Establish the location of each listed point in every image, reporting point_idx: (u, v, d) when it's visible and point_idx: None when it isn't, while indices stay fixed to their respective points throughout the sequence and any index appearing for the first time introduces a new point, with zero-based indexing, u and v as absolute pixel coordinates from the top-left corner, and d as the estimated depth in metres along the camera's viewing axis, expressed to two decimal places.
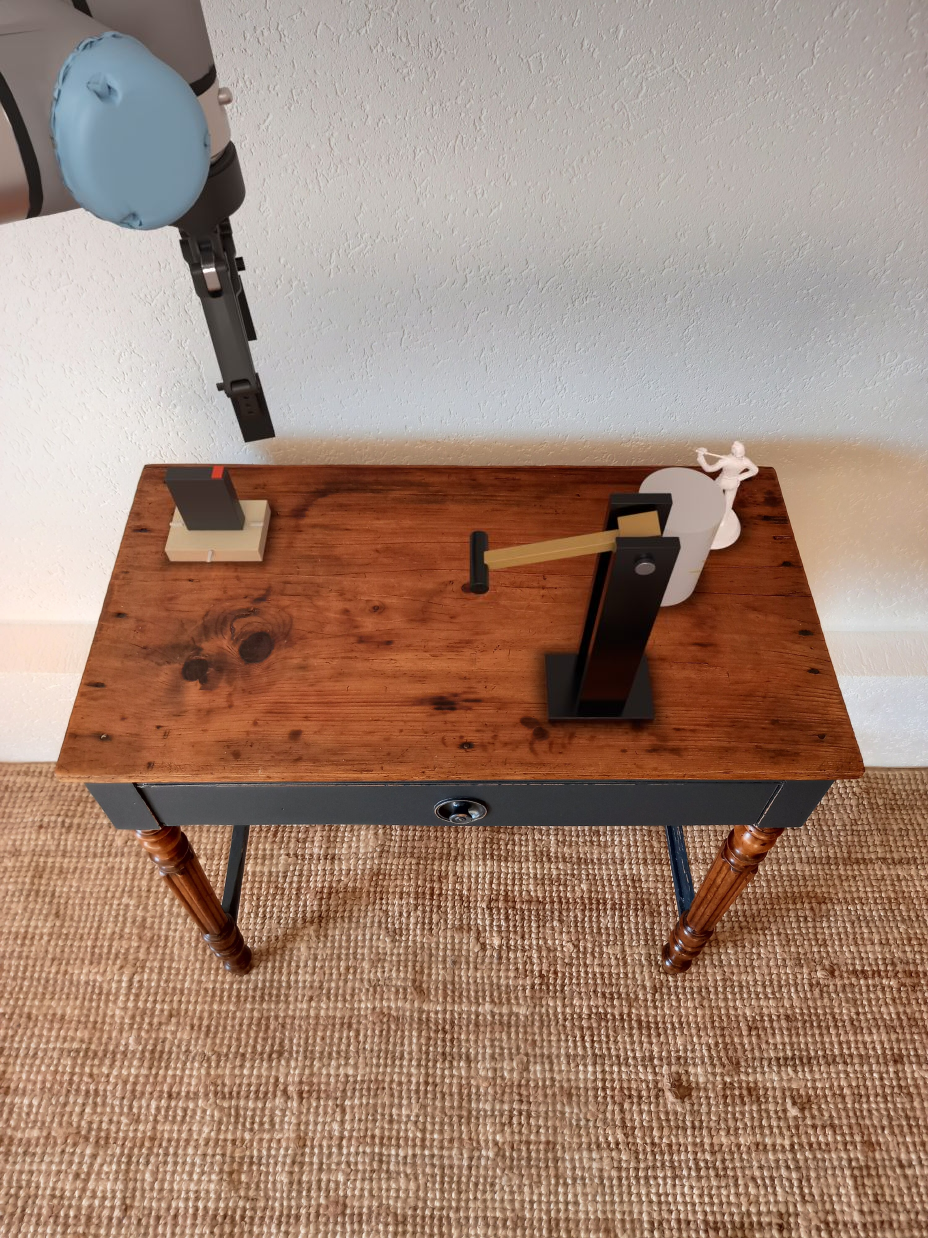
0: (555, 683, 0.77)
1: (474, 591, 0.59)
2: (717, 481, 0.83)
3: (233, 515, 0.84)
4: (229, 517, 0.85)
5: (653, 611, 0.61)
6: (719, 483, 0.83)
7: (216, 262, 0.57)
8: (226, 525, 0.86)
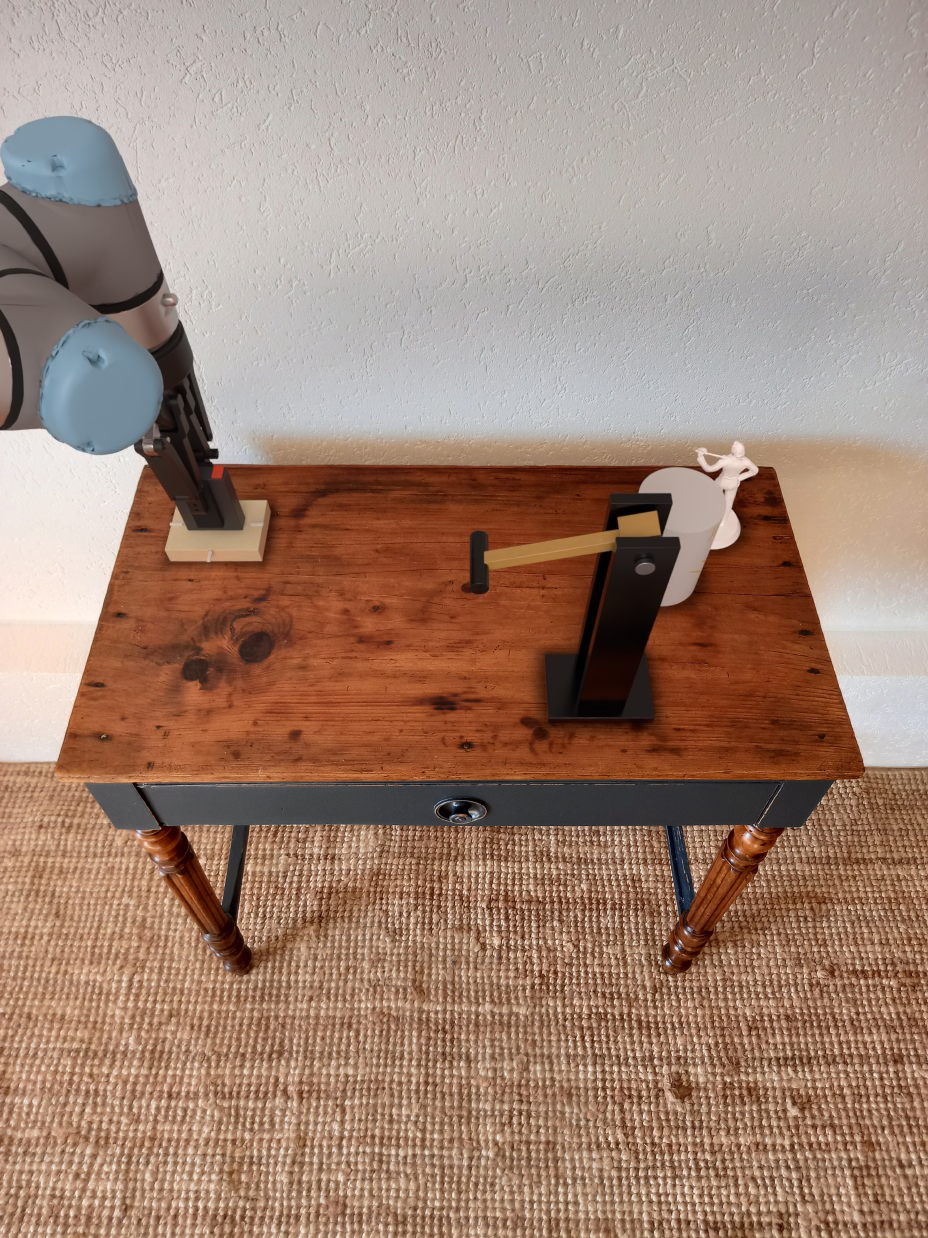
0: (555, 683, 0.77)
1: (474, 591, 0.59)
2: (717, 481, 0.83)
3: (233, 515, 0.84)
4: (229, 517, 0.85)
5: (653, 611, 0.61)
6: (719, 483, 0.83)
7: (154, 446, 0.68)
8: (226, 525, 0.86)
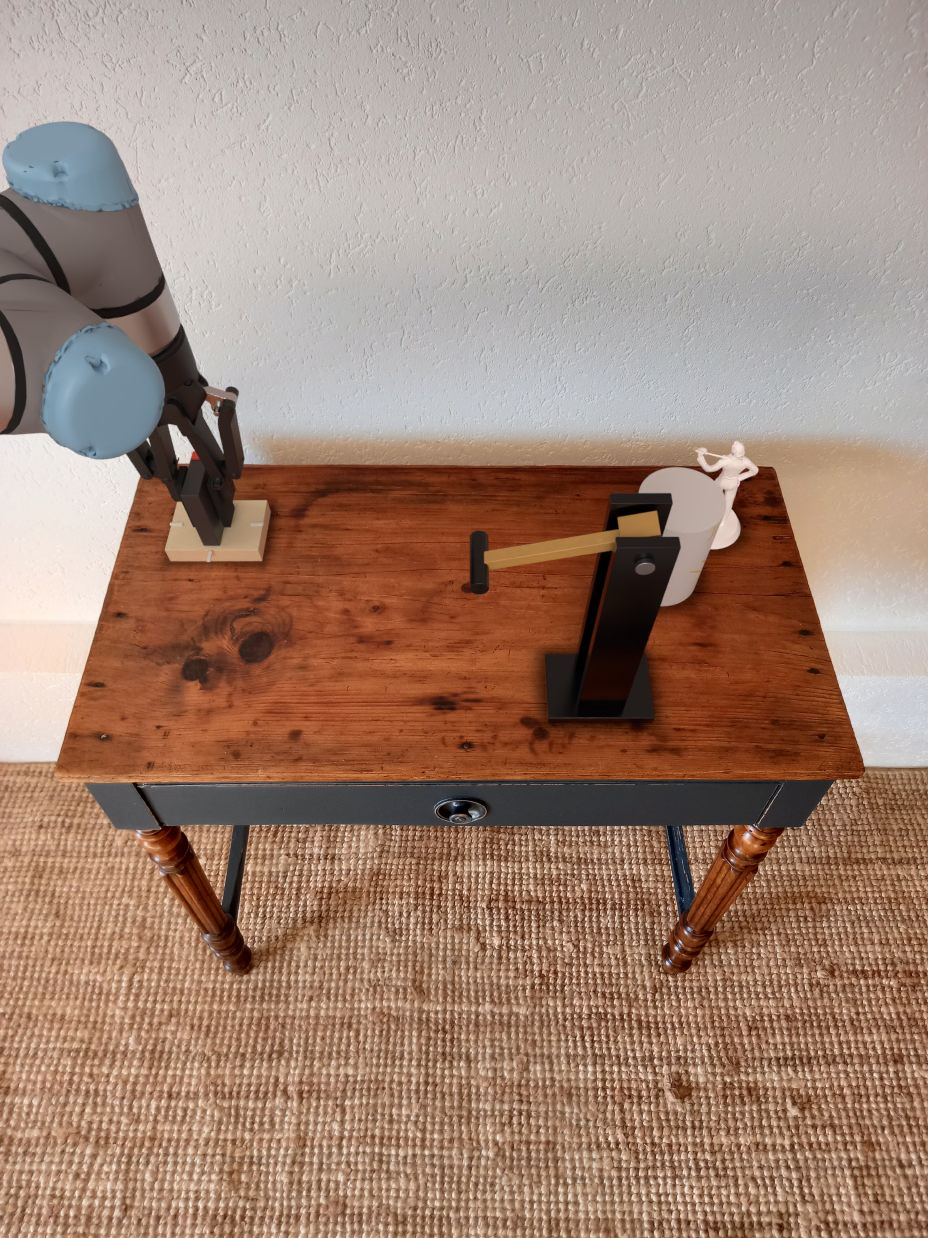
0: (555, 683, 0.77)
1: (474, 591, 0.59)
2: (717, 481, 0.83)
3: None
4: None
5: (653, 611, 0.61)
6: (719, 483, 0.83)
7: (235, 392, 0.72)
8: None
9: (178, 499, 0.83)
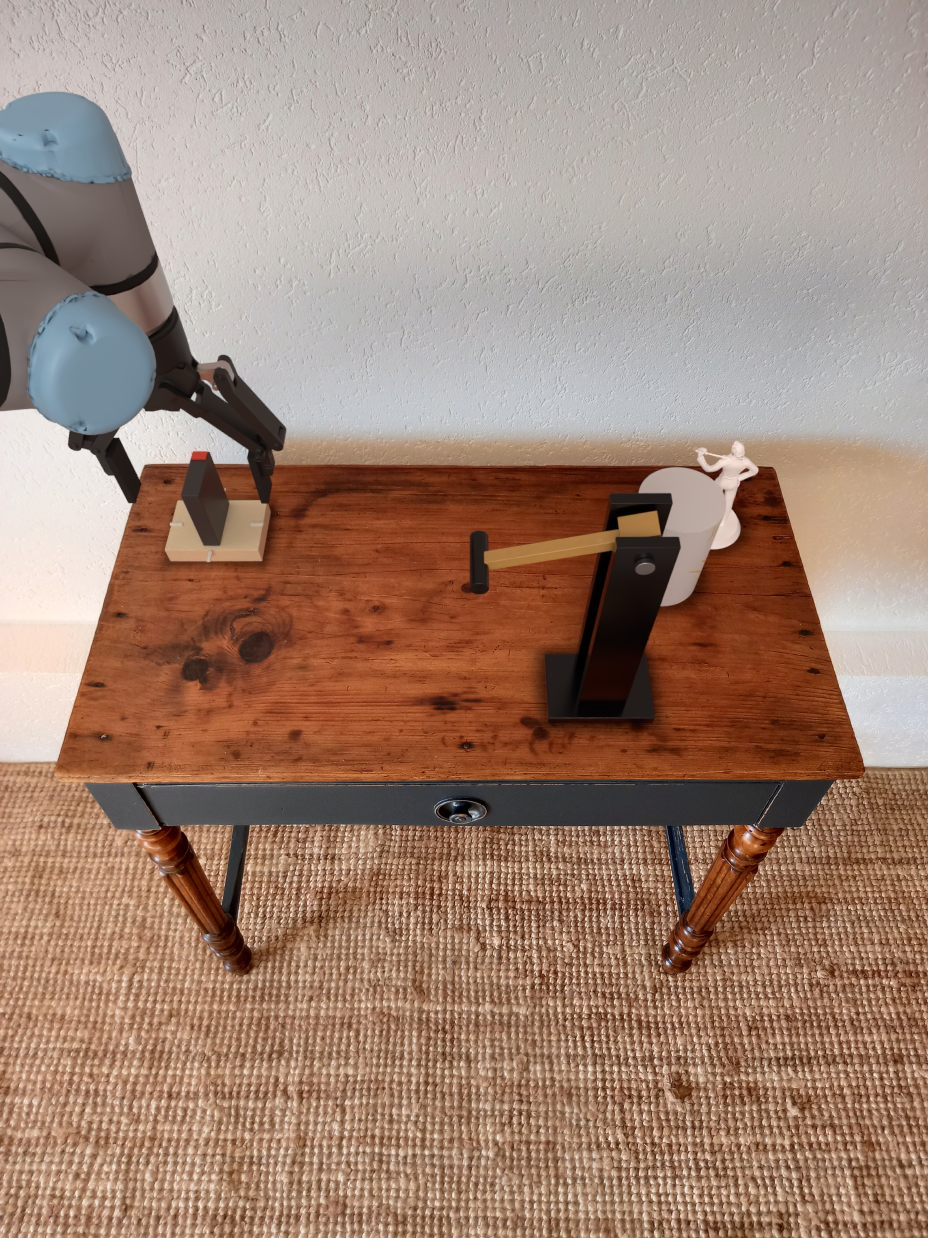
0: (555, 683, 0.77)
1: (474, 591, 0.59)
2: (717, 481, 0.83)
3: (223, 490, 0.86)
4: (223, 496, 0.86)
5: (653, 611, 0.61)
6: (719, 483, 0.83)
7: (224, 359, 0.69)
8: (225, 509, 0.87)
9: (111, 473, 0.79)
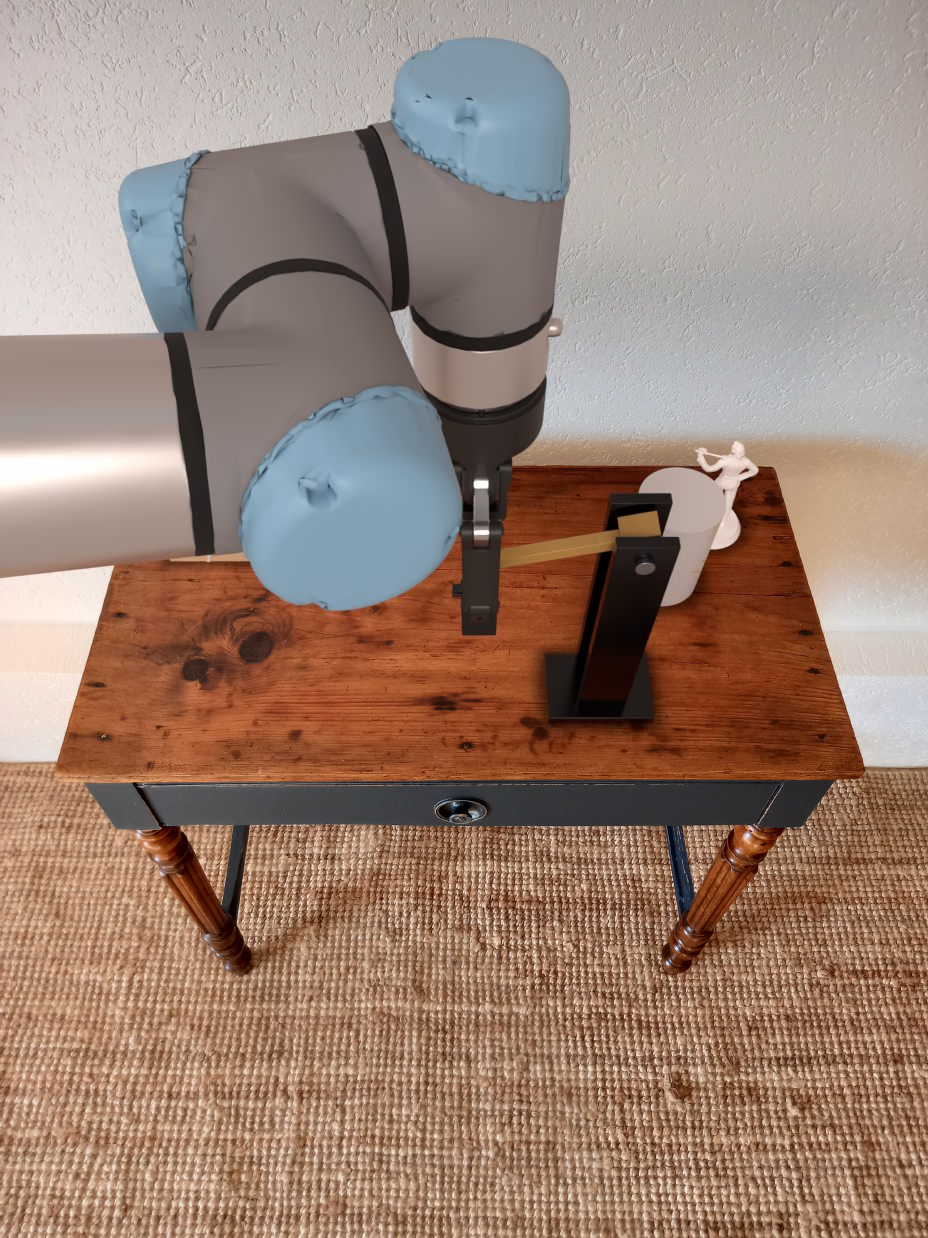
0: (555, 683, 0.77)
1: None
2: (717, 481, 0.83)
3: None
4: None
5: (653, 611, 0.61)
6: (719, 483, 0.83)
7: (491, 531, 0.47)
8: None
9: None
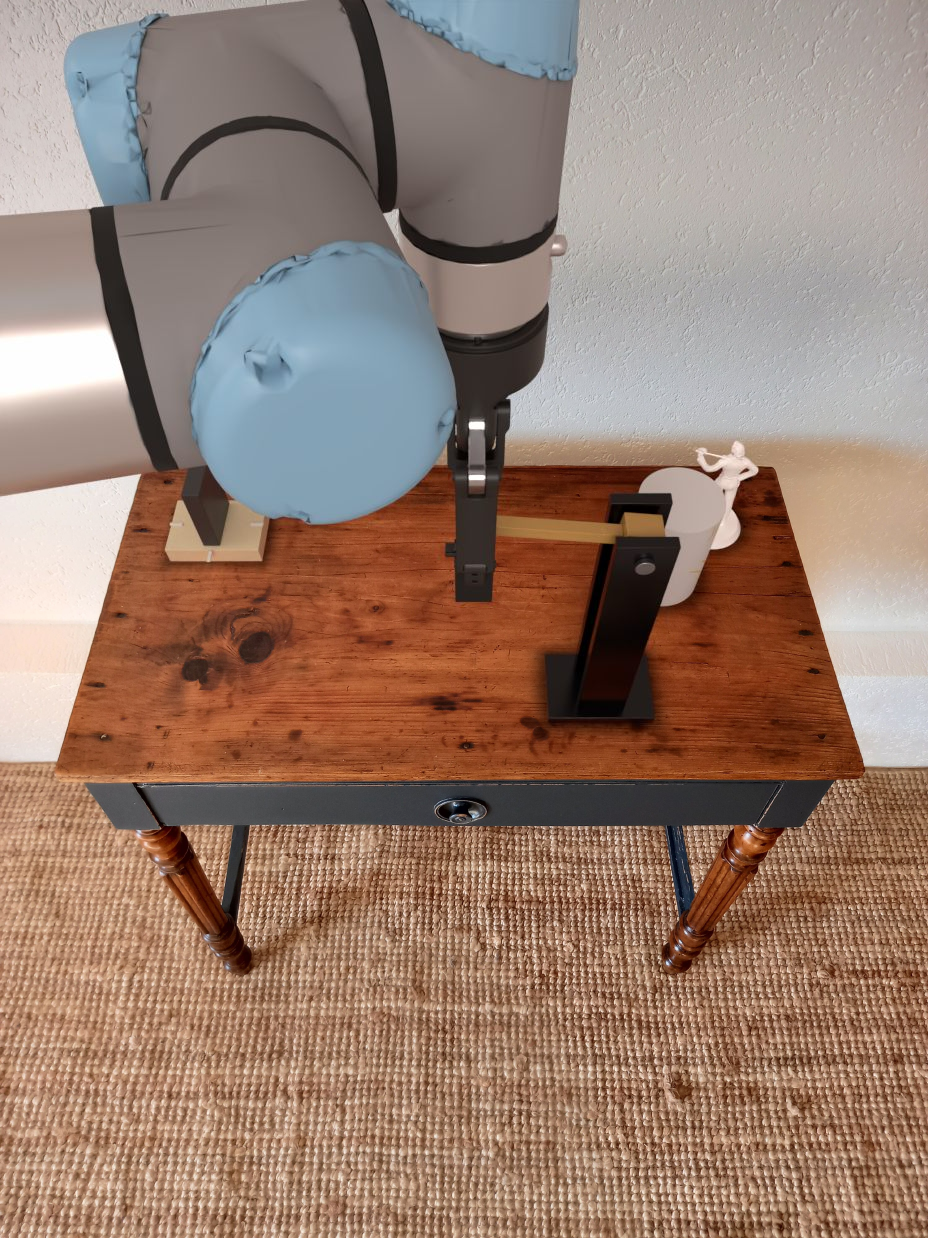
0: (555, 683, 0.77)
1: None
2: (717, 481, 0.83)
3: (223, 490, 0.86)
4: (223, 496, 0.86)
5: (653, 611, 0.61)
6: (719, 483, 0.83)
7: (488, 476, 0.43)
8: (225, 509, 0.87)
9: None
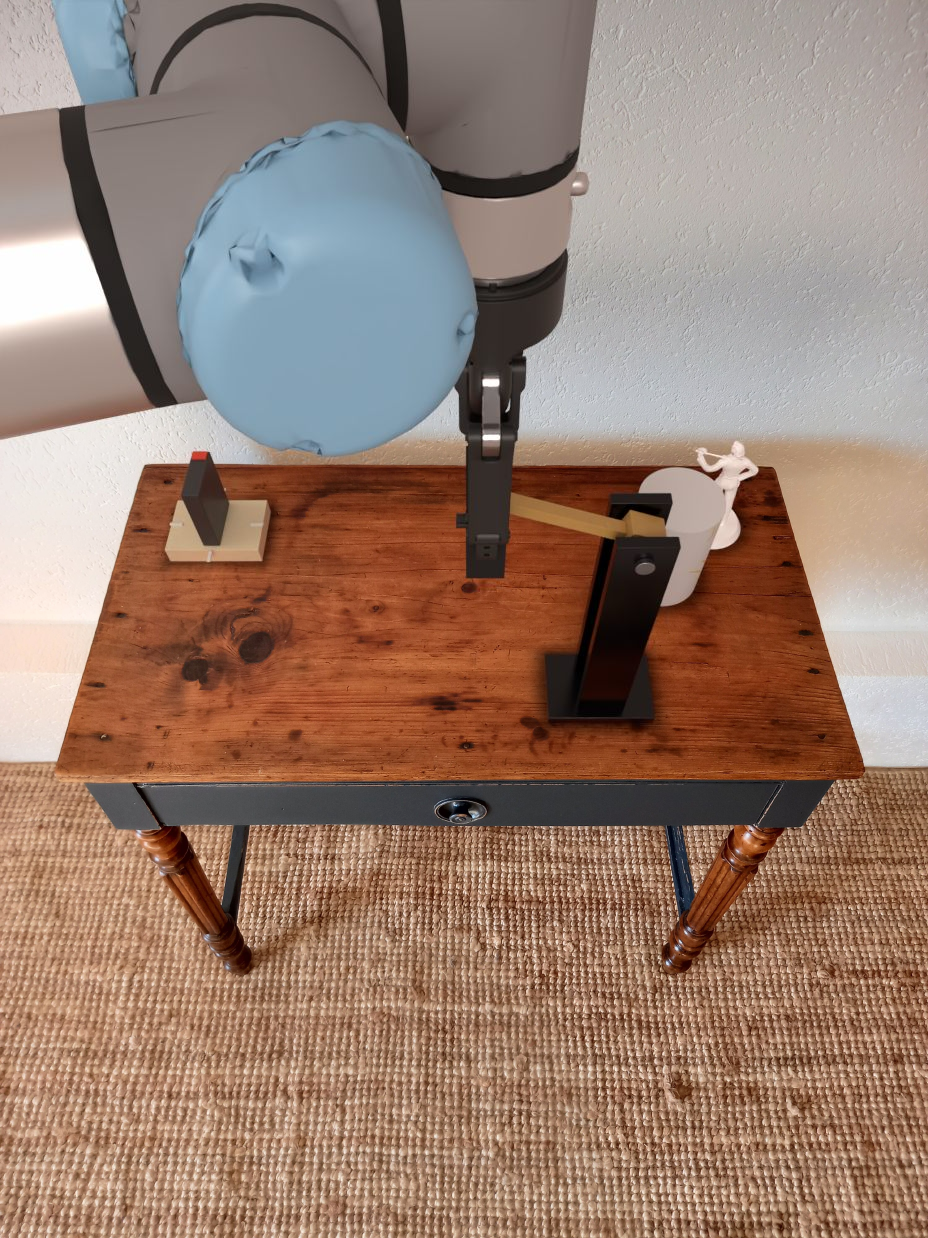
0: (555, 683, 0.77)
1: None
2: (717, 481, 0.83)
3: (223, 490, 0.86)
4: (223, 496, 0.86)
5: (653, 611, 0.61)
6: (719, 483, 0.83)
7: (503, 435, 0.41)
8: (225, 509, 0.87)
9: None
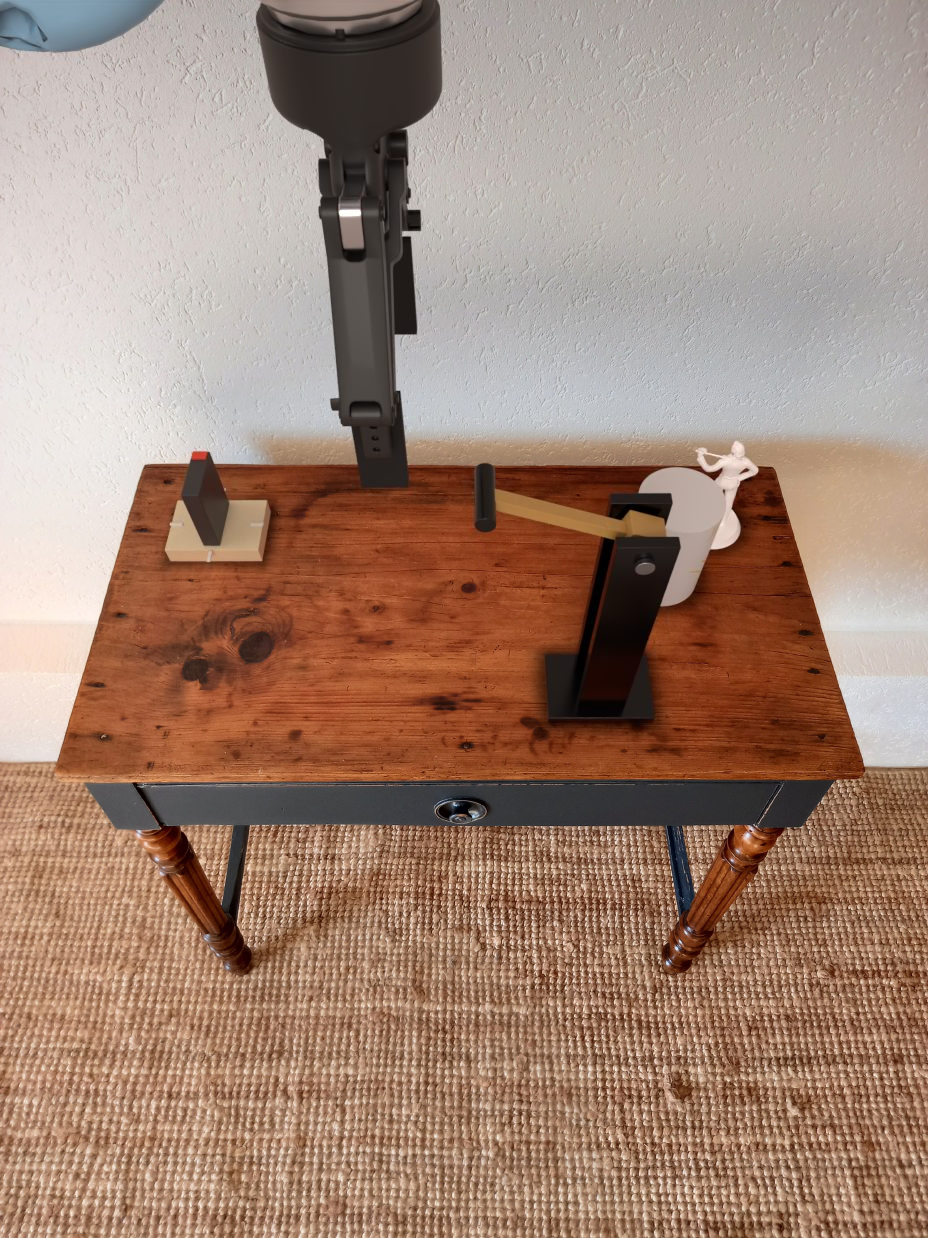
0: (555, 683, 0.77)
1: (478, 526, 0.53)
2: (717, 481, 0.83)
3: (223, 490, 0.86)
4: (223, 496, 0.86)
5: (653, 611, 0.61)
6: (719, 483, 0.83)
7: (364, 201, 0.33)
8: (225, 509, 0.87)
9: None
